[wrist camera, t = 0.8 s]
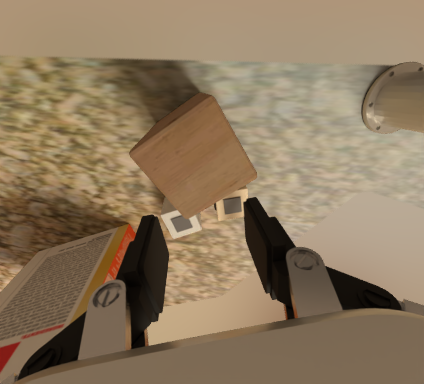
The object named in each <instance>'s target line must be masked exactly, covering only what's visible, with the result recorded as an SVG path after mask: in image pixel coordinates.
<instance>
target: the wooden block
mask: <svg viewBox="0 0 424 384" xmlns="http://www.w3.org/2000/svg"><path fill="white" fill-rule="evenodd" d="M129 155H130V157H131V158H132V159H133V160H134V161H135V163H136V164H137V165H138V166H139V167H140V168H141V169H142V171H143V172H144V173H145V174H146V175H147V176H148V177H149V178H150V180H151V181H152V182H153V183H154V184H155V185H156V186H157V188H158V189H159V190H160V191H161V192H162V193H163V194H164V196H165V197H166V198H167V199H168V200H169V201H170V202H171V203H172V205H173V206H174V207H175V208H176V209H177V210H178V211H179V213H180V214H181V215H182V216H183V217H184V218H185V219H189V218H191V217H193V216H194V215H196V214H198V213H199V212H201V211H203V210H204V209H206V208H208V207H209V206H211V205H213V204H215V203H216V202H218V201H220V200H221V199H223V198H225V197H226V196H228V195H230V194H231V193H233V192H235V191H236V190H238V189H240V188H241V187H243V186H245V185H246V184H248V183H250V182H251V181H253V180H255V179H256V178H257V172H256V170H255V169H254V167H253V165H252V163H251V162H250V160H249V158H248V156H247V154H246V153H245V151H244V149H243V147H242V146H241V144H240V142H239V140H238V138H237V137H236V135H235V133H234V131H233V130H232V128H231V126H230V124H229V122H228V121H227V119H226V117H225V115H224V113H223V112H222V110H221V108H220V106H219V105H218V103H217V101H216V99H215V98H214V97H213V96H212V95H209V94H205V93H197V94H196V95H195V96H193V97H192V98H190V99H189V100H188V101H186V102H185V103H184V104H182V105H181V106H179V107H178V108H177V109H175V110H174V111H172V112H171V113H170V114H168V115H167V116H165V117H164V118H163V119H161V120H160V121H158V122H157V123H156V124H155V125H154V126H153V127H152V128H151V129H150V131H149V132H148V133H147V134H146V135H145V136H144V137H143V138H142V139H141V140H140V141H139V142H138V143H137V144H136V145H135V146H134V147H133V148H132V149H131V151H130V153H129Z"/></svg>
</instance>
